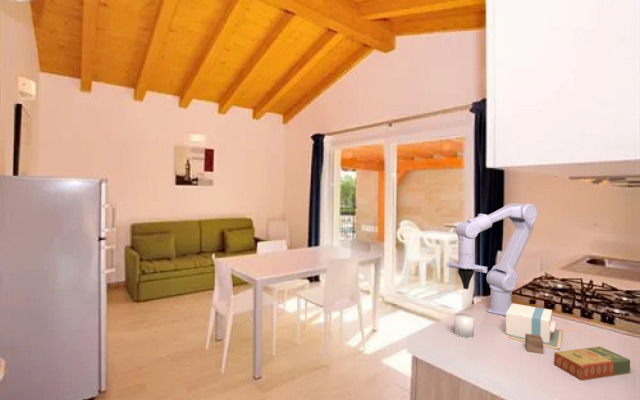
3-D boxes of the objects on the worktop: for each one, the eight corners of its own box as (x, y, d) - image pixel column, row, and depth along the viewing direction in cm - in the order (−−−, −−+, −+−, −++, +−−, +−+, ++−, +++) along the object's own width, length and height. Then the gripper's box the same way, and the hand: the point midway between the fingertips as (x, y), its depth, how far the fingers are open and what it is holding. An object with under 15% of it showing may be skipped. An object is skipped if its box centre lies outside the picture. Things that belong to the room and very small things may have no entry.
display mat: (515, 321, 125) (515, 320, 125) (562, 330, 117) (562, 330, 117) (507, 337, 112) (507, 337, 112) (559, 350, 103) (559, 349, 103)
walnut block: (525, 346, 106) (525, 333, 106) (540, 348, 105) (540, 335, 105) (527, 351, 103) (527, 338, 102) (543, 354, 101) (543, 341, 101)
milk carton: (512, 303, 124) (556, 310, 116) (511, 322, 124) (556, 331, 116) (506, 313, 114) (553, 322, 106) (506, 333, 114) (553, 344, 106)
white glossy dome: (457, 328, 119) (457, 312, 119) (475, 333, 116) (475, 315, 115) (451, 334, 114) (452, 317, 114) (471, 339, 111) (471, 321, 111)
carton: (553, 365, 95) (553, 350, 95) (599, 359, 99) (599, 344, 98) (582, 382, 87) (582, 365, 87) (631, 374, 90) (631, 358, 90)
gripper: (443, 252, 132) (443, 287, 133) (484, 257, 123) (484, 294, 124) (449, 250, 138) (449, 283, 138) (488, 254, 129) (488, 289, 129)
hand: (466, 288), depth 131 cm, fingers closed
